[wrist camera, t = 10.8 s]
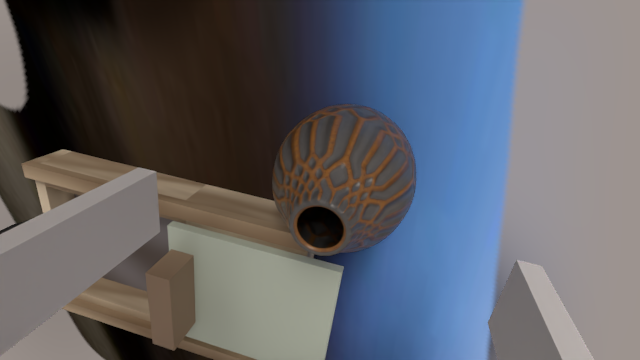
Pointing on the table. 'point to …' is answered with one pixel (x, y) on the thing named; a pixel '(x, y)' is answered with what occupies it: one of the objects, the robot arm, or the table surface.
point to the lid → (241, 296)
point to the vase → (343, 179)
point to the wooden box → (174, 205)
